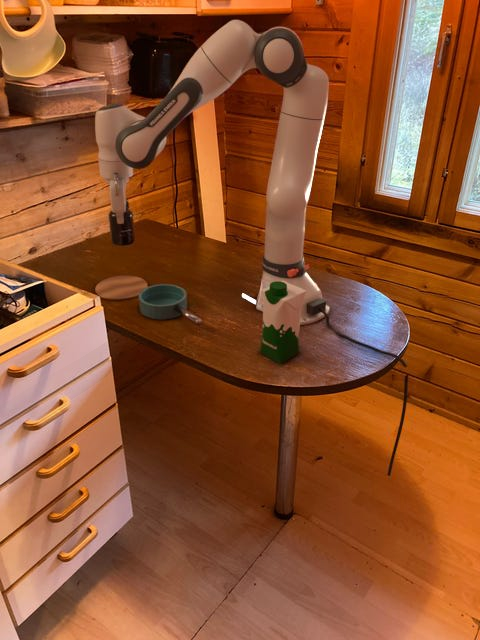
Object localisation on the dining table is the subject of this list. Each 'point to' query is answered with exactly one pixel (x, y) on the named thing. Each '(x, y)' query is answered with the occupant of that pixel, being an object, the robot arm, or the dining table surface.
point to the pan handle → (188, 315)
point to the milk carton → (281, 320)
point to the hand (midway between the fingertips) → (120, 218)
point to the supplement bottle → (122, 228)
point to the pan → (162, 301)
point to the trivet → (120, 287)
